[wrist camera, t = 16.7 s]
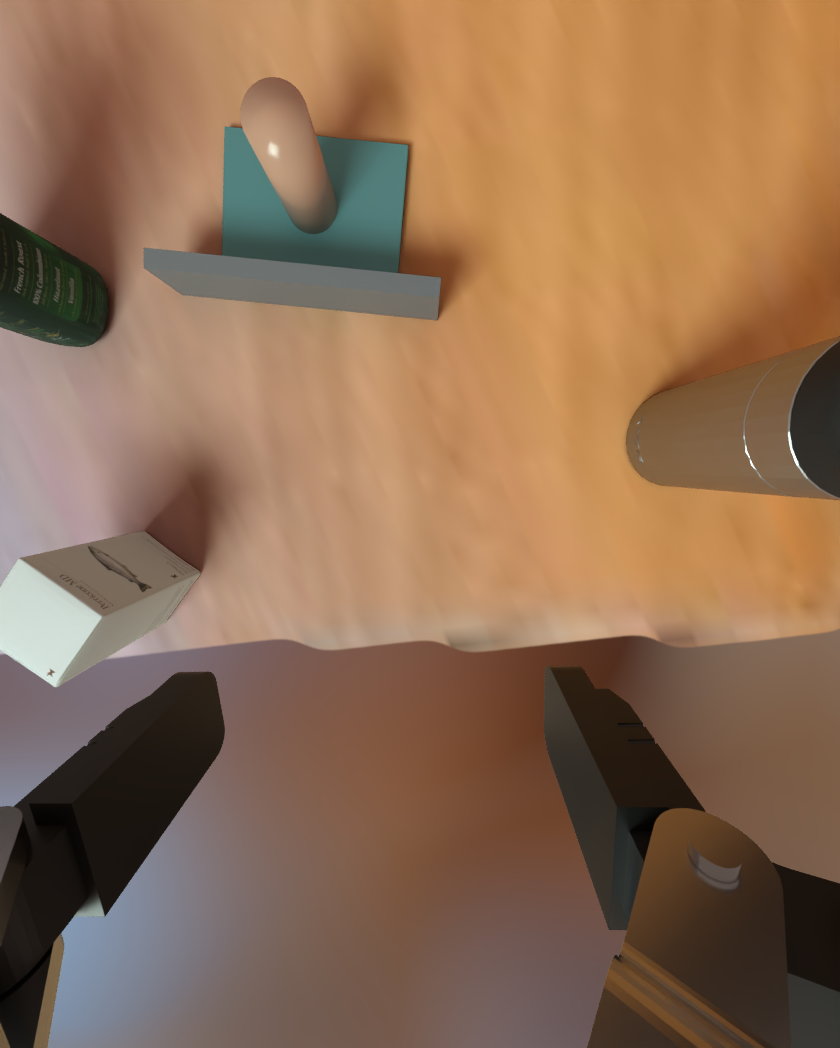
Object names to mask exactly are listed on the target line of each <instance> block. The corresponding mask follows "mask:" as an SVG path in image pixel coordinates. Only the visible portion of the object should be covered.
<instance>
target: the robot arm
mask: <svg viewBox="0 0 840 1048" xmlns="http://www.w3.org/2000/svg"><path fill="white" fill-rule="evenodd" d="M626 446H627V453H628V456H629V459H630V462H631V463H632V465H633V467H634V468H635V470H636V471H637V472H638V473H639V474H640V475H641V476H642V477H644V478H645V479H647V480H648V481H650V482H652V483H655V484H658V485H664V486H673V487H685V488H695V489H707V490H719V491H731V492H743V493H754V494H766V495H778V496H790V497H805V498H817V499H829V500H840V336H838V337H835V338H832V339H829V340H826V341H822V342H819V343H816V344H813V345H810V346H807V347H804V348H801V349H798V350H794V351H791V352H788V353H785V354H782V355H778V356H775V357H772V358H769V359H766V360H762V361H759V362H756V363H753V364H750V365H746V366H743V367H740V368H737V369H734V370H730V371H727V372H724V373H721V374H718V375H714V376H711V377H708V378H705V379H702V380H698V381H695V382H692V383H688V384H685V385H682V386H679V387H676V388H673V389H669V390H666V391H663V392H660V393H658V394H656V395H654V396H653V397H651V398H649V399H648V400H647V401H646V402H645V403H643V404H642V405H641V406H640V408H639V409H638V410H637V411H636V412H635V414H634V416H633V418H632V420H631V422H630V425H629V428H628V431H627V438H626ZM224 733H225V727H224V720H223V715H222V709H221V704H220V698H219V693H218V687H217V682H216V678H215V676H214V675H213V674H212V673H211V672H178V673H176V674H174V675H173V676H171V677H170V678H169V679H168V680H167V681H166V682H165V683H164V684H163V685H161V686H160V687H159V688H158V689H157V690H156V691H155V692H154V693H152V694H151V695H150V696H148V697H146V698H145V699H143V700H141V701H140V702H138V703H136V704H134V705H133V706H131V707H130V708H128V709H126V710H125V711H124V712H122V713H121V714H120V715H119V716H118V717H117V718H116V719H114V720H113V721H112V722H111V723H110V724H109V725H107V726H106V729H105V731H101V732H99V733H98V734H97V735H96V736H95V737H94V738H92V739H91V740H90V741H89V742H88V745H87V746H83V747H82V748H81V749H80V750H79V751H77V752H76V753H75V754H74V755H73V756H72V757H71V758H69V759H68V760H67V761H66V762H65V763H64V764H62V765H61V766H60V767H59V768H58V769H57V770H55V772H54V773H52V774H51V775H50V776H49V777H47V778H46V779H45V780H44V781H43V782H42V783H40V784H39V785H38V786H37V787H36V788H35V789H33V790H32V791H31V792H30V793H29V794H28V795H27V796H26V797H24V798H23V799H22V800H21V801H20V802H18V803H17V804H16V805H15V806H14V807H11V806H5V807H0V1048H47V1047H48V1041H49V1035H50V1029H51V1024H52V1018H53V1012H54V1006H55V1000H56V994H57V988H58V982H59V977H60V971H61V964H62V959H63V952H64V941H63V937H62V934H61V932H62V931H63V930H64V928H65V927H66V926H67V925H68V923H69V922H70V921H71V919H72V918H73V917H74V916H92V917H95V916H96V917H105V916H106V914H107V913H108V912H109V910H110V908H111V907H112V906H113V904H114V903H115V902H116V900H117V899H118V897H119V896H120V894H121V893H122V892H123V890H124V889H125V887H126V886H127V884H128V883H129V882H130V880H131V879H132V877H133V876H134V874H135V873H136V872H137V870H138V869H139V867H140V866H141V864H142V863H143V862H144V860H145V859H146V857H147V856H148V854H149V853H150V852H151V850H152V849H153V847H154V846H155V844H156V843H157V842H158V840H159V839H160V837H161V836H162V834H163V833H164V831H165V830H166V829H167V827H168V826H169V824H170V823H171V821H172V820H173V818H174V817H175V816H176V814H177V813H178V811H179V810H180V808H181V807H182V806H183V804H184V803H185V801H186V800H187V799H188V797H189V796H190V794H191V793H192V791H193V790H194V788H195V787H196V786H197V784H198V783H199V781H200V780H201V778H202V777H203V776H204V774H205V773H206V771H207V770H208V769H209V767H210V766H211V764H212V762H213V761H214V760H215V759H216V757H217V755H218V754H219V752H220V750H221V747H222V744H223V740H224ZM544 734H545V740H546V746H547V751H548V754H549V757H550V760H551V763H552V766H553V769H554V772H555V775H556V778H557V780H558V784H559V786H560V789H561V792H562V795H563V798H564V801H565V804H566V807H567V809H568V813H569V816H570V818H571V821H572V824H573V827H574V830H575V833H576V836H577V839H578V842H579V845H580V847H581V850H582V853H583V856H584V859H585V862H586V865H587V868H588V871H589V874H590V877H591V879H592V882H593V885H594V888H595V891H596V894H597V897H598V900H599V903H600V905H601V909H602V911H603V914H604V917H605V920H606V923H607V925H608V928H609V930H627V931H626V935H625V939H624V943H623V946H622V950H621V953H620V955H619V957H618V956H617V955H615V956H614V958H613V960H612V963H611V965H610V968H609V971H608V974H607V978H606V981H605V984H604V988H603V991H602V995H601V999H600V1002H599V1006H598V1010H597V1013H596V1017H595V1021H594V1024H593V1028H592V1032H591V1035H590V1039H589V1042H588V1046H587V1048H840V884H839V883H836V882H832V881H829V880H826V879H822V878H818V877H815V876H812V875H809V874H805V873H802V872H798V871H795V870H791V869H789V868H786V867H783V866H780V865H777V864H775V863H773V862H771V861H770V859H769V858H768V857H767V855H766V854H765V853H764V852H763V851H762V849H761V848H760V847H759V846H758V845H757V844H756V843H755V842H754V841H752V840H751V839H750V838H749V837H748V836H747V835H746V834H744V833H743V832H742V831H740V830H739V829H738V828H736V827H734V826H733V825H731V824H729V823H728V822H726V821H724V820H722V819H720V818H718V817H716V816H714V815H711V814H709V813H706V811H705V810H704V808H703V807H702V806H701V804H700V803H699V802H698V800H697V799H696V797H695V796H694V794H693V793H692V792H691V790H690V789H689V788H688V786H687V785H686V783H685V782H684V780H683V779H682V778H681V776H680V775H679V773H678V772H677V771H676V769H675V768H674V766H673V765H672V764H671V762H670V761H669V759H668V758H667V756H666V755H665V754H664V752H663V751H662V750H661V748H660V747H659V745H658V744H655V741H654V738H653V737H652V735H651V734H650V733H649V731H648V730H647V728H646V727H643V723H642V721H641V720H640V719H639V717H638V716H637V714H636V713H635V712H634V710H633V709H632V708H631V706H630V705H629V704H628V703H627V702H626V701H624V700H623V699H622V698H620V697H619V696H617V695H616V694H615V693H613V692H612V691H611V690H609V689H595V688H594V686H593V684H592V683H591V681H590V679H589V678H588V676H587V675H586V673H585V671H584V670H583V668H582V667H581V666H547V667H546V670H545V691H544Z"/></svg>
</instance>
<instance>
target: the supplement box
mask: <svg viewBox="0 0 840 1048" xmlns="http://www.w3.org/2000/svg"><path fill="white" fill-rule="evenodd" d="M200 574H201V572H200V571H199V570H197V569H195V568H194V567H192V566H191V565H189V564H188V563H186V562H185V561H184V560H182V559H181V558H179V557H178V556H176V555H175V554H174V553H172V552H171V551H170V550H168V549H167V548H166V547H164V546H163V545H162V544H160V543H159V542H158V541H157V540H155V539H154V538H153V537H151V536H150V535H149V534H148V533H146V532H145V531H140V532H135V533H130V534H126V535H121V536H117V537H112V538H108V539H104V540H99V541H95V542H90V543H86V544H81V545H76V546H72V547H67V548H63V549H59V550H54V551H50V552H45V553H41V554H36V555H32V556H27V557H22V558H19V559H18V560H17V562H16V564H15V565H14V567H13V568H12V570H11V571H10V573H9V574H8V576H7V577H6V579H5V581H4V582H3V584H2V585H1V587H0V650H1V651H3V652H4V653H6V654H7V655H9V656H10V657H12V658H13V659H14V660H15V661H17V662H18V663H21V664H22V665H23V666H25V667H26V668H28V669H29V670H31V671H32V672H34V673H35V674H37V675H38V676H40V677H41V678H42V679H44V680H46V681H47V682H48V683H50V684H51V685H52V686H54V687H58V686H60V685H62V684H63V683H65V682H66V681H68V680H69V679H71V678H73V677H75V676H76V675H78V674H80V673H81V672H83V671H85V670H87V669H88V668H90V667H92V666H93V665H95V664H97V663H98V662H100V661H102V660H103V659H105V658H107V657H108V656H110V655H112V654H113V653H115V652H117V651H118V650H120V649H122V648H124V647H125V646H127V645H129V644H130V643H132V642H134V641H135V640H137V639H139V638H140V637H142V636H144V635H145V634H147V633H149V632H150V631H152V630H154V629H156V628H157V627H159V626H161V625H162V624H164V623H165V622H166V621H167V619H168V618H169V617H170V615H171V614H172V612H173V611H174V610H175V608H176V607H177V606H178V604H179V603H180V601H181V600H182V599H183V597H184V596H185V595H186V593H187V592H188V590H189V589H190V588H191V586H192V585H193V583H194V582H195V581H196V579H197V578H198V576H199V575H200Z"/></svg>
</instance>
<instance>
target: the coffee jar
mask: <svg viewBox="0 0 840 1048" xmlns="http://www.w3.org/2000/svg"><path fill="white" fill-rule="evenodd" d="M107 316H108V295H107V289H106V286H105V283H104V281H103V279H102V277H101V276H100V274H99V273H98V272H97V271H96V270H95V269H94V268H92V267H91V266H89V265H88V264H86V263H85V262H83V261H81V260H80V259H78V258H76V257H75V256H73V255H71V254H69V253H68V252H66V251H64V250H63V249H61V248H59V247H57V246H56V245H54V244H52V243H51V242H49V241H47V240H45V239H44V238H42V237H40V236H38V235H36V234H35V233H33V232H31V231H30V230H28V229H26V228H25V227H23V226H21V225H19V224H18V223H16V222H14V221H13V220H11V219H9V218H7V217H6V216H4V215H2V214H1V213H0V327H2V328H4V329H8V330H11V331H13V332H16V333H19V334H23V335H26V336H29V337H32V338H35V339H38V340H41V341H45V342H49V343H54V344H58V345H64V346H74V347H85V346H89V345H92V344H94V343H95V342H96V341H97V340H98V339H99V338H100V337H101V335H102V333H103V330H104V328H105V325H106V322H107Z"/></svg>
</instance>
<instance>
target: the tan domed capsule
mask: <svg viewBox="0 0 840 1048" xmlns="http://www.w3.org/2000/svg"><path fill="white" fill-rule="evenodd" d="M240 119H241V125H242V128H243V131H244V133H245V135H246V137H247V139H248V141H249V143H250V145H251V146H252V148H253V150H254V152H255V154H256V156H257V158H258V160H259V161H260V163H261V165H262V167H263V169H264V171H265V173H266V175H267V176H268V178H269V180H270V182H271V184H272V186H273V188H274V190H275V191H276V193H277V195H278V197H279V199H280V201H281V203H282V205H283V206H284V208H285V210H286V212H287V214H288V216H289V218H290V220H291V221H292V223H293V224H294V225H295V226H296V227H297V228H298V229H299V230H301V231H302V232H305V233H308V234H319V233H322V232H324V231H325V230H327V229H328V228H329V227H330V226H331V225H332V224H333V222H334V220H335V218H336V215H337V200H336V196H335V193H334V190H333V187H332V184H331V180H330V177H329V174H328V171H327V168H326V165H325V162H324V159H323V156H322V152H321V149H320V146H319V143H318V140H317V137H316V134H315V131H314V127H313V124H312V121H311V118H310V115H309V112H308V109H307V106H306V103H305V100H304V98H303V96H302V94H301V93H300V92H299V90H298V89H297V88H296V87H295V86H294V85H292V84H291V83H290V82H288V81H286V80H284V79H281V78H276V77H269V78H264V79H261V80H259V81H257V82H256V83H255V84H253V85H252V86H251V87H250V88H249V89H248V91H247V92H246V94H245V96H244V98H243V101H242V104H241V109H240Z"/></svg>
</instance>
